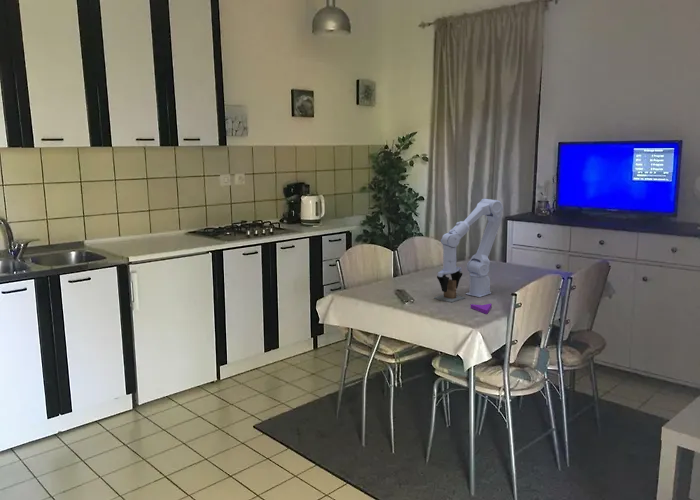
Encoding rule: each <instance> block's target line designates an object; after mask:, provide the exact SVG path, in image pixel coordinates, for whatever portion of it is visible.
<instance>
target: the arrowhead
mask: <svg viewBox="0 0 700 500" xmlns="http://www.w3.org/2000/svg"><path fill="white" fill-rule="evenodd" d="M470 309H472V310H474V311H477V312H479V313H482V314H485V315H488V313H489V312H490V310H491V309H492V303H486V304H473V303H472V304H470Z"/></svg>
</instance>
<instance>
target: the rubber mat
mask: <svg viewBox="0 0 700 500" xmlns="http://www.w3.org/2000/svg"><path fill="white" fill-rule="evenodd" d="M433 299H434V300H438V301H442V302H447V303H455V302H458V301H461V300H464V299H466V296H463V295H457V294H456V298H454V299H451V298H446V297H444V294H441V295H438V296H435V297H433Z"/></svg>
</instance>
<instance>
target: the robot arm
mask: <svg viewBox="0 0 700 500" xmlns="http://www.w3.org/2000/svg"><path fill="white" fill-rule="evenodd" d="M504 209H505V208H504V206H503V203H502V202H501V200H498V199H490V198H481V200H480V201H479V202H477V204H476V206H475V207H474V209H473V210H472V211H471V212H470V213H469V215H468V216H467V217H466V218H465V219H464V220H460V221H457V222H456V223H455V226H453V228H451V229H449V231H448V232H447V233H444V234H442V237H441V239H440V244H441V245H442V249H443V251H442V252H443V253H442V255H443V259H442V260H443V261H442V263H443V264H442V265H443V266H442V267H443V268H441V270H440V271H438V272H437V276H436V279H437V281H438V282H439V285H440V287H441V291H442V292H443V293H444V292H447V284H448V280H449V279H451V280H456V290H457V289H458V287H459V283H460V280H461V278H462V276H463V272H462V267H461V266H457V247H458V246H459V244H460V242H461V239H462V238H463V237H464V236H465V235H466V234H467V233H468V232H469V231H470V226H471V225H473V224H474V223H475V222H476V221H477V220H479V218H481V217H482V216H485V217H486V219H487V223H486V227H485V229H484V232H483V235H482V238H481V240H480V243H479V245H478V248H477V251H476V253H475V254H473V255H471V257H470V260H469V261H468V262H467V264H466V270H467V272H468V273H469V292H466V293H465V295H468V296H473V297H477V298H482V297H484V296H487V295H490V294H492V291H491V279H490V276H489V275H488V274H489V272H490V265H491V260H490V259H489V256H490V254H491V250H492V248H493V245H494V243H495V239H496V237H497V234H498V231H499V229H500V227H501V223H502V220H503V218H502V216H503V213H502V212H504ZM449 275H450V276H449ZM448 276H449V277H448Z"/></svg>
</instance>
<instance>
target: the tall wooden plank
mask: <svg viewBox="0 0 700 500" xmlns="http://www.w3.org/2000/svg"><path fill="white" fill-rule="evenodd" d="M443 295H444V297H446V298H451V299H454V298H456V295H457V289H456V280H452V278H449V280H448V284H447V292H443Z"/></svg>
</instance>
